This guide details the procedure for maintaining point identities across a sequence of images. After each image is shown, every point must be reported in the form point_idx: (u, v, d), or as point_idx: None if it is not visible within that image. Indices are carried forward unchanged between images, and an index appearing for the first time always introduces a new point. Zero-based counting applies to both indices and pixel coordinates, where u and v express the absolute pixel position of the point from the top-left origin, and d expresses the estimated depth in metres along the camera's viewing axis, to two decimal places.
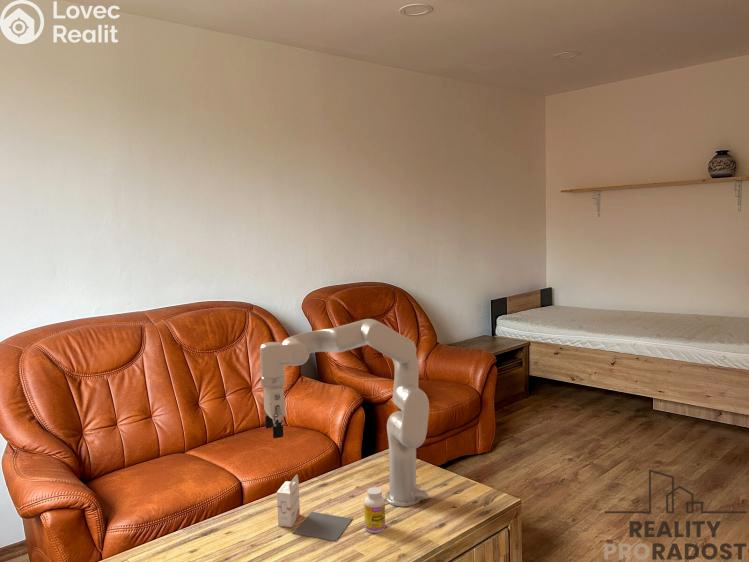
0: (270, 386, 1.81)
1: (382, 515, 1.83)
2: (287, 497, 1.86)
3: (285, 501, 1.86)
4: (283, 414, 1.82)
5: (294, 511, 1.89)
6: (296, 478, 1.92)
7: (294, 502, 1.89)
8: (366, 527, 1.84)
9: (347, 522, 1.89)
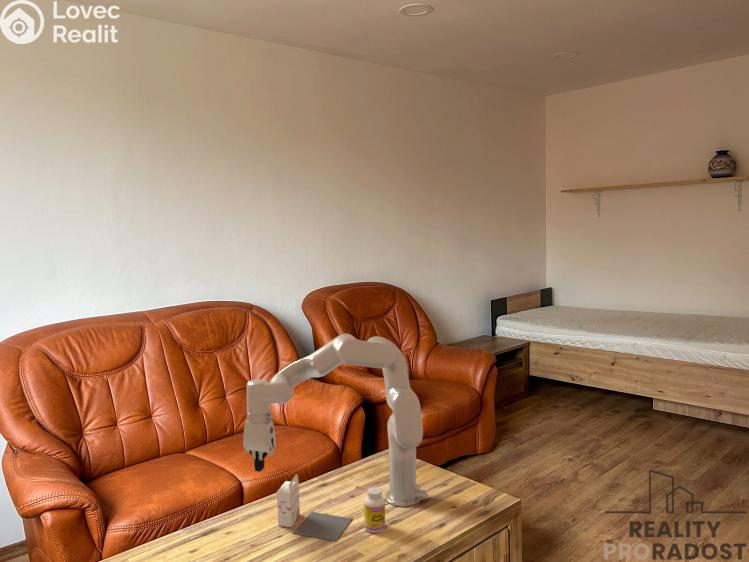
0: (265, 421, 1.88)
1: (382, 515, 1.83)
2: (286, 497, 1.86)
3: (285, 501, 1.86)
4: (275, 445, 1.92)
5: (294, 511, 1.89)
6: (296, 478, 1.92)
7: (294, 502, 1.89)
8: (366, 527, 1.84)
9: (347, 522, 1.89)
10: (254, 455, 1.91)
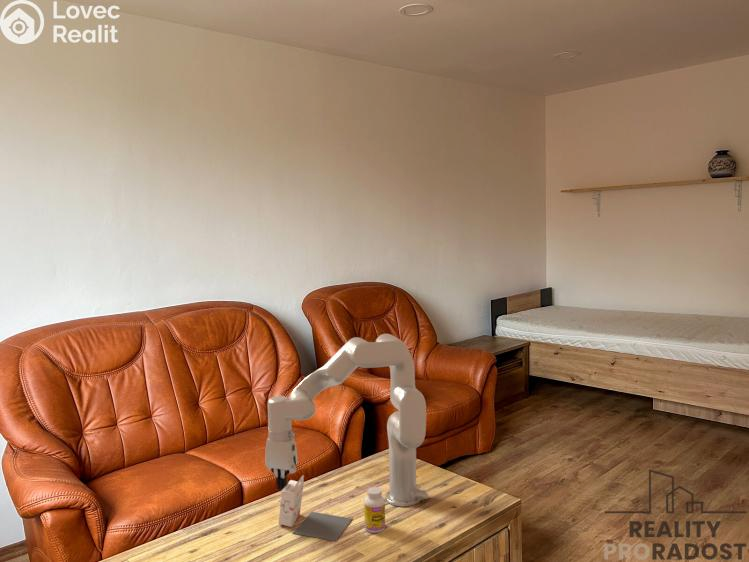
0: (286, 439, 1.86)
1: (382, 514, 1.83)
2: (291, 497, 1.86)
3: (289, 501, 1.86)
4: (297, 462, 1.90)
5: (296, 511, 1.89)
6: (302, 479, 1.91)
7: (297, 502, 1.89)
8: (366, 527, 1.84)
9: (347, 522, 1.89)
10: (276, 473, 1.89)
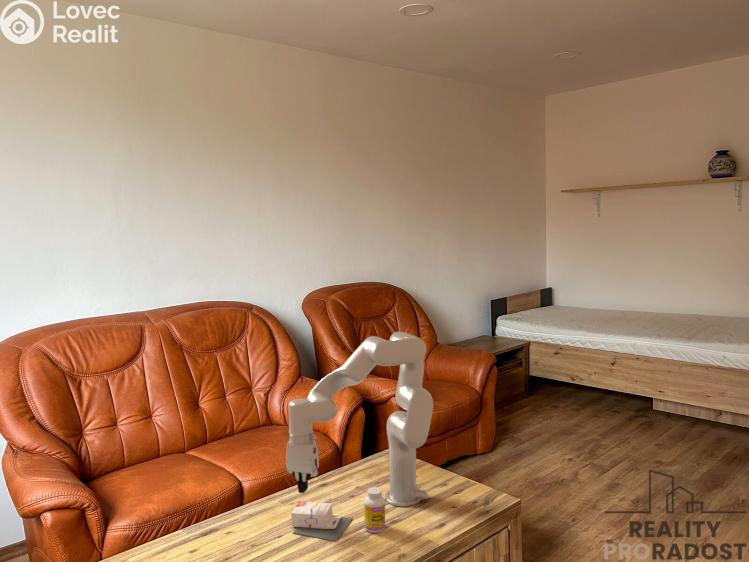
0: (308, 442, 1.84)
1: (382, 514, 1.83)
2: (322, 525, 1.84)
3: (317, 523, 1.85)
4: (318, 466, 1.88)
5: None
6: None
7: None
8: (366, 527, 1.84)
9: (347, 522, 1.89)
10: (297, 476, 1.87)
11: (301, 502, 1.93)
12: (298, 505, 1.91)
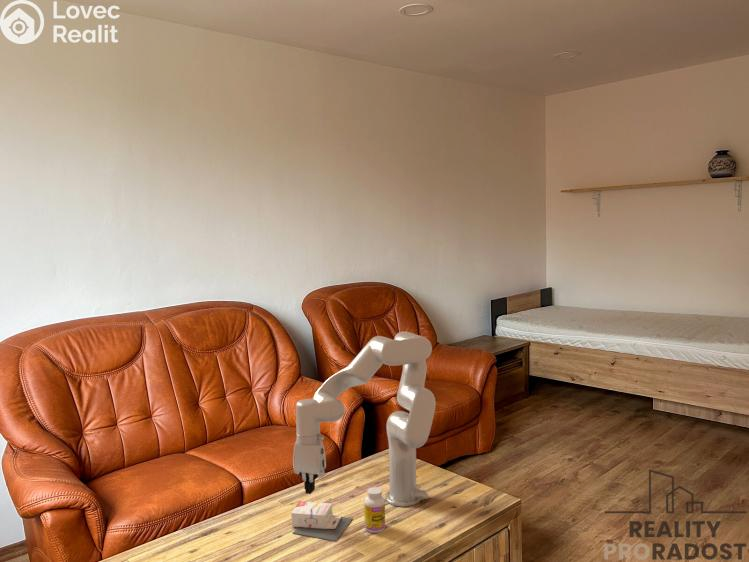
0: (315, 443, 1.83)
1: (382, 515, 1.83)
2: (322, 525, 1.84)
3: (317, 523, 1.85)
4: (325, 466, 1.87)
5: None
6: None
7: None
8: (366, 527, 1.84)
9: (347, 522, 1.89)
10: (304, 477, 1.86)
11: (301, 502, 1.93)
12: (298, 505, 1.91)
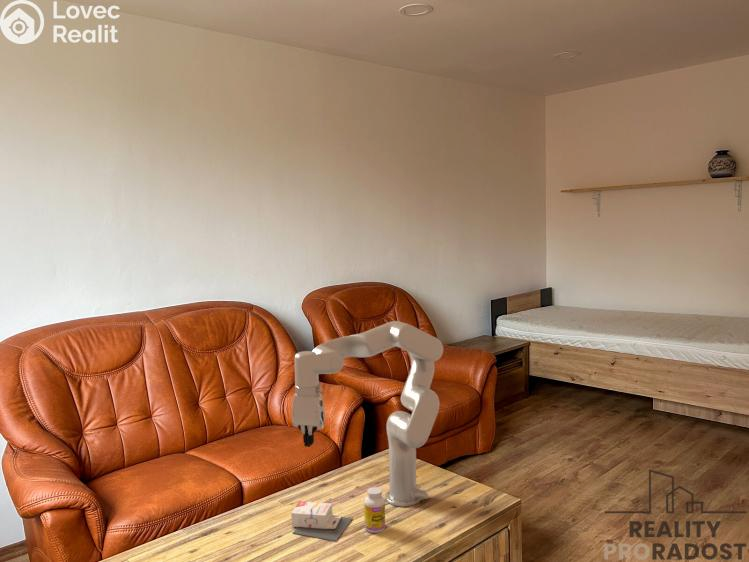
0: (314, 394, 1.81)
1: (382, 515, 1.83)
2: (322, 525, 1.84)
3: (317, 523, 1.85)
4: (324, 419, 1.85)
5: None
6: None
7: None
8: (366, 527, 1.84)
9: (347, 522, 1.89)
10: (303, 430, 1.85)
11: (301, 502, 1.93)
12: (298, 505, 1.91)
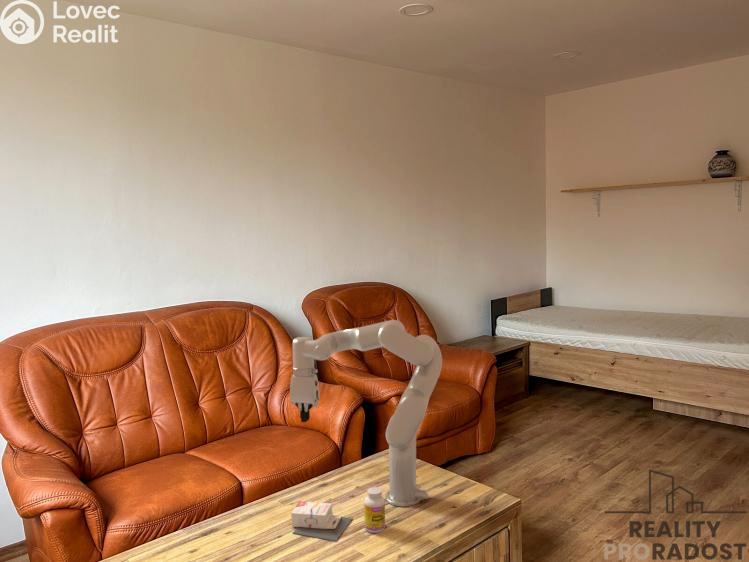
0: (310, 375, 2.04)
1: (382, 514, 1.83)
2: (322, 525, 1.84)
3: (317, 523, 1.85)
4: (319, 397, 2.08)
5: None
6: None
7: None
8: (366, 527, 1.84)
9: (347, 522, 1.89)
10: (300, 407, 2.07)
11: (301, 502, 1.93)
12: (298, 505, 1.91)
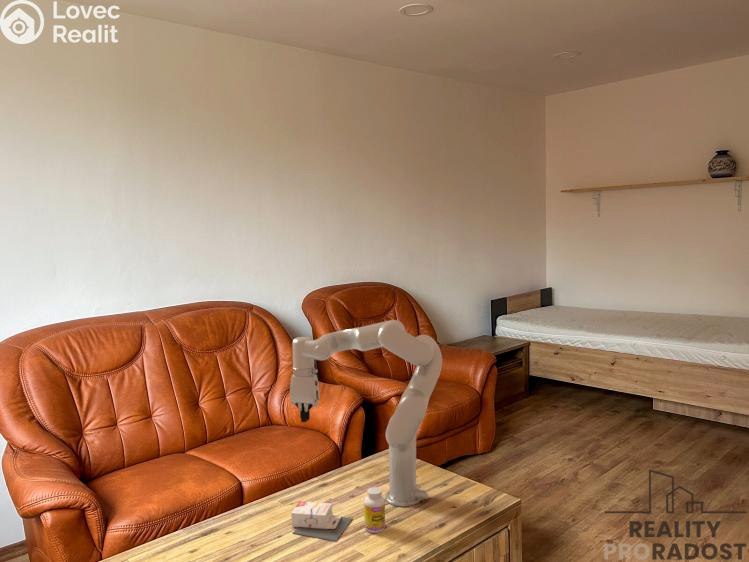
0: (310, 375, 2.04)
1: (382, 514, 1.83)
2: (322, 525, 1.84)
3: (317, 523, 1.85)
4: (319, 397, 2.08)
5: None
6: None
7: None
8: (366, 527, 1.84)
9: (347, 522, 1.89)
10: (300, 407, 2.07)
11: (301, 502, 1.93)
12: (298, 505, 1.91)
